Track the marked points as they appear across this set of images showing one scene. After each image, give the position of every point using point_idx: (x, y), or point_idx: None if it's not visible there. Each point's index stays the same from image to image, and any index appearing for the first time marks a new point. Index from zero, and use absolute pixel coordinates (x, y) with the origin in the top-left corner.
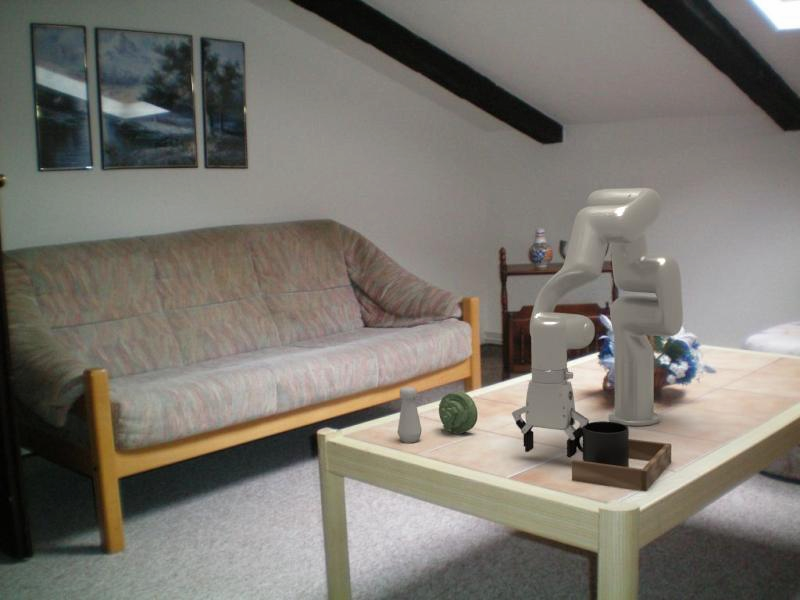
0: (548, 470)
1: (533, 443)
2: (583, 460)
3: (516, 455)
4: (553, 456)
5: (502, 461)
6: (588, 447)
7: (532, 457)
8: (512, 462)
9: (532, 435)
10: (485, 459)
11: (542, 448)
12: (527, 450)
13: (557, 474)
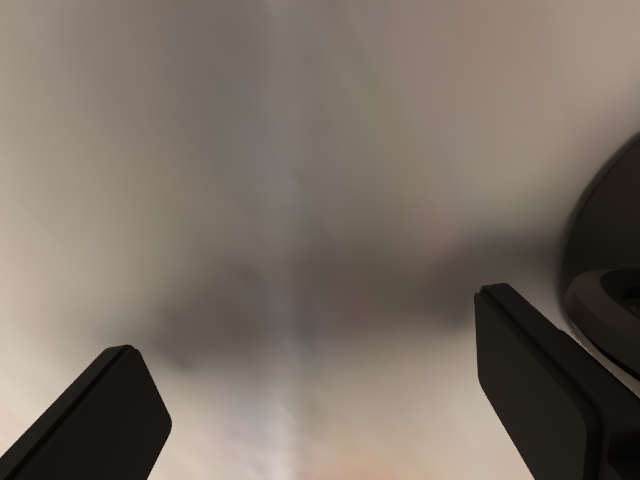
0: (391, 435)
1: (111, 375)
2: (630, 388)
3: (65, 334)
4: (261, 215)
5: None
6: None
7: (168, 312)
8: None
9: (59, 475)
10: None
11: (48, 80)
12: (162, 432)
13: (463, 455)
